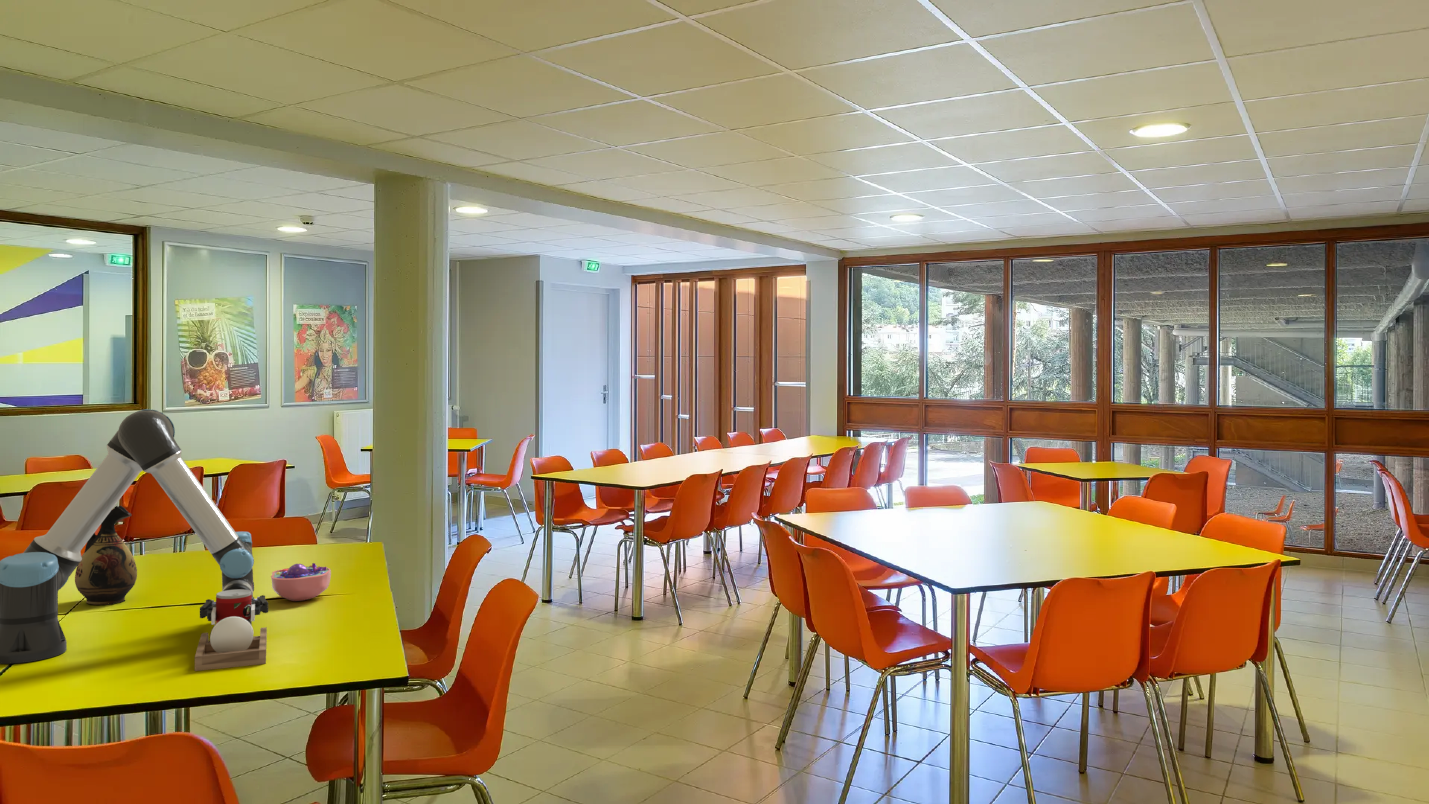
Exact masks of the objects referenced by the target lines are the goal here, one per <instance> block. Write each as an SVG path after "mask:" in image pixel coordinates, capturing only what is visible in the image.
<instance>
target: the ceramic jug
mask: <svg viewBox="0 0 1429 804" xmlns="http://www.w3.org/2000/svg"><path fill="white" fill-rule="evenodd" d="M129 517H132V513H131V512H129V511H128V510H127V508H125V507H124V506H122V505H115V506H114V507H113V509H112V510H111V511H110V513H109V514H108V515H107V517H106V518H105V519H104V521H103V522H102V523H101V525H100V529H99V530H98V532H97V534H96V533H95V532H94V534H93V535H92V536H91V538H90V539H89V540H88V542H87V543H86V544H85V549H84V552H83V553H82V554H81V556H82V560H81V562H80V563H79V564H78V566H77V567H76V568H75V574H74V583H75V587H76V590H77V591H78V593H80V594H81V595H82V596H83V597H84V598H85V599H86V602H85V603H86V604H89V605H96V606H97V605H98V606H100V605H107V606H109V605H114V604H118V603H123V602H125V601H126V600H125V599H126V597H127V596H126V595H127V594H128V593H130V591H131V590H132V589H133V587H134V586H135V584H136V581H137V579H138V568H137V565H136V561H135V557H134V556H133V554H132V552H131V551H130V549H129V547H128V546H127V544H125V542H124V541H123V539H122V538H121V537H120V536H119V535H118V533H117V532H116V529H115V528H116V527H115V525H116V524H117V523H118V522H121V521H122V520H124V519H127V518H129Z"/></svg>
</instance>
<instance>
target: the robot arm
mask: <svg viewBox="0 0 1429 804" xmlns="http://www.w3.org/2000/svg"><path fill="white" fill-rule="evenodd" d="M175 431H176V429H175V425H174V423H173V421H172V420H171V418H170V417H169V416H167V415H166V414H165V413H163V412H161V411H159V410H156V409H150V408H148V409H147V408H146V409H141V410H136V411H135V412H133V413H131V414H129V415H128V416H126V417H124V418H123V420H122V421H121V423H120V424H119V426H118V429H117V431H116V433H115V434H114V435H113V436H112V438H111V439H110V440H109V442H108V443H107V444H106V449H107V455H106V456H105V458H104V459H103V460H102V461H101V463H100V464H99V465H98V467H96V469H94V470H95V471H94V472H93V473H92V474H91V476H90V477H89V478H88V480H86V482H85V483H84V484H83V485H82V487H81V488H80V489H79V491H78V493H77V494H75V496H74V498H73V499H72V500H71V501H70V503H69V504H68V505H67V507H65V509H64V511H63V512H62V513H61V515H59V517H58V518H57V520H56V521H55V522H54V524H53V525H52V526H51V527H50V529H49V530H48V531H47V532H46V534H44V535H39V536H36V537H34V538H33V539H32V541H31V542H30V543H29V545H28V546H27V547H26V548H25V550H24V551H23V552H21V553H16V554H14V555H8V556H6V557H4V558H2V559H0V665H1V664H2V665H3V664H5V665H8V664H9V665H10V664H21V663H30V662H37V661H42V660H46V659H49V658H54V657H56V656H59V655H61V654H64V653H65V652H66V651H67V642H68V641H67V639H66V637H65V634H64V631H63V628H62V626H61V624H60V622H59V621H60V620H59V612H58V610H59V605H58V603H59V600H58V599H59V591H60V590H61V589H62V588H63V587H64V586H65V585H66V583H67V582H68V581H69V577H71V575H72V574H73V572H74V571H76V568H77V566H78V564H79V563H80V562H81V560H82V553H81V551H82V550H83V548H84V547H86V544H87V542H88V540H89V539H90V538H91V536H92V535H93V534H94V533H95V532H96V531H97V530H98V528H99V527H101V523H102V522H103V521H104V519H105V518H106V517H107V515H108V514H109V513H110V511H111V510H112V509H113V508H115V507H116V506H117V503H118V502H119V501H120V500H121V499H122V496H123V495H125V493H126V491H127V490H128V489H129V488H130V486H131V485H132V484H133V483H134V481H135V480H136V479H137V477H138V476H139V475H140V473H141V472H144V473H147V474H151V475H152V477H153V478H154V479H155V480H156V482H157V483H158V485H159V486H160V487H161V488H162V490H163V491H164V493H165V494H166V495H167V497H168V498H169V499H170V501H171V502H172V504H174V506H175V508H176V509H177V510H178V511H179V513H180V514H181V516H182V517H183V518H184V519H185V520H186V522H187V523H188V524H189V526H190V528H191V529H192V530H193V531H194V533H195V534H196V535H197V537H198V538H199V539H200V540H201V542H202V543H203V546H204V547H205V548H206V549H207V550H208V552H209V553H210V554H211V555H212V558H213V559H214V560H215V561H216V563H217V564H218V565H219V568H220V571H221V585H222V586H221V588H222V590H221V592H222V591H226V590H236V589H244V590H250V591H251V593H252V606H251V621H252V622H255V619H256V616H260V615H261V613H263V614H268V613H269V602H268V601H267V600H266V595H264V594H263V595H260V596H256V597H257V598H255V597H254V591H255V583H254V569H253V566H254V563H255V559H254V556H253V541H252V534H251V533H250V532H249V531H235V529H234V528H233V527H232V526H231V523H229V521H228V520H227V518H226V517H225V515H223V513H222V512H221V510H220V509H219V508H218V506H217V504H216V503H215V502H214V500H213V499H212V498H211V497H210V494H208V492H207V491H206V489H205V487H203V485H202V484H201V482H200V481H199V480H198V478H197V477H196V476H195V474H194V473H193V471H192V470H191V469H190V467H189V466H188V465H187V464H186V462H185V460H184V459H183V458H182V452H183V451H182V448H181V447H180V446H179V445H178V443H177V441H176V440H175V435H176V432H175ZM205 618H206V620H207V622H211V625H214V626H215V625H216V601H215V600H214V599H209V598H207V599H206V600H205V603H204V604H202V606H200V607H199V619H205Z"/></svg>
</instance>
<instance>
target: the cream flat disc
mask: <svg viewBox="0 0 1429 804" xmlns="http://www.w3.org/2000/svg"><path fill="white" fill-rule="evenodd" d="M254 634H255V633H254V628H253V626H251V624H250V623H249V622H248V621H247V620H246V619H244V618H241V617H236V616H232V617H227V618H224V619H222V620H221V621H219V622H218V623H217V624H216V623H215V625H214V626H213V628H212V629H211V632H210V635H209V637H210V638H209V641H210V643H211V646H212V648H213V649H214V650H215V651H216V652H217V653H223V652H233V651H243V650H246V649H247V648H248V647H249V646H250V645H251V643H252V640H253V636H254Z"/></svg>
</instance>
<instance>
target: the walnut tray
mask: <svg viewBox="0 0 1429 804" xmlns="http://www.w3.org/2000/svg"><path fill="white" fill-rule="evenodd" d="M259 629H260V631H259V635H256V636H255V635H253V640H252V643H251V645H250V646H249V647H248V648H247V649H246V650H243V651H233V652H223V653H217V652H216V651H215V650H214V649H213V648H212V646H211V643H210V640H209V632H202V633H201V634H200V638H199V641H198V645H197V648H196V652H195V655H194V671H195V672H198V671H206V670H207V671H209V670H217V669H227V668H235V667H236V668H237V667H245V666H254V665H264V664H266V663H267V645H268V644H267V642H268V641H267V640H268V639H267V637H268V636H267V635H268V633H267V631H268V629H267V626H266V627H260V628H259Z"/></svg>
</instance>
